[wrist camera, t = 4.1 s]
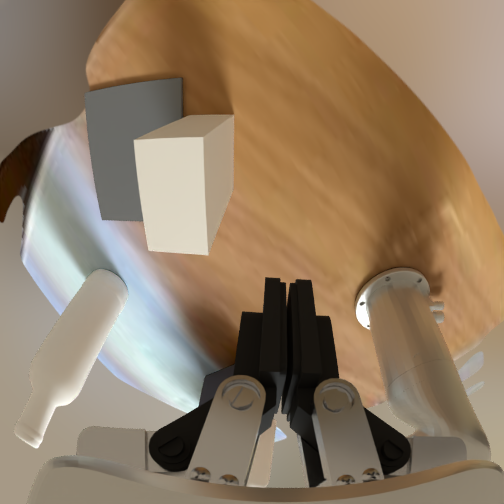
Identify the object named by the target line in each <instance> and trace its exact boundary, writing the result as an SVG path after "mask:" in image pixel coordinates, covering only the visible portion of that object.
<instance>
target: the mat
mask: <svg viewBox="0 0 504 504" xmlns="http://www.w3.org/2000/svg"><path fill="white" fill-rule="evenodd" d="M85 108H86V120H87V130H88V140H89V148H90V155H91V163H92V169H93V175H94V181H95V187H96V193H97V198H98V203H99V208H100V213H101V218H102V220H118V221H143V214H142V208H141V201H140V193H139V186H138V178H137V169H136V160H135V150H134V140H135V139H137V138H139V137H141V136H143V135H145V134H147V133H150V132H152V131H154V130H156V129H158V128H161V127H163V126H165V125H167V124H170V123H172V122H174V121H177V120H179V119H182V118H183V86H182V78H172V79H162V80H154V81H146V82H139V83H132V84H126V85H120V86H115V87H109V88H104V89H100V90H95V91H90V92H86V93H85Z"/></svg>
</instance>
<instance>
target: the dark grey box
mask: <svg viewBox="0 0 504 504" xmlns="http://www.w3.org/2000/svg"><path fill="white" fill-rule="evenodd" d="M234 366H235V364H234V365H232V366H229V367H227V368H225V369H222V370H220V371H217V372H215V373H212V374H210V375H207V376H206V377H205V379H204V384H203V388H202V393H201V397H200V402H199V406H201V405H202V404H204V403H206V402H207V401H209V400H211V399H212V398H214V396H215V394H216V391H217V389H218V387H219V385H220V384H221V383H222V382H223V381H224V380H225V379H227V378H229V377H231V376H233V373H234ZM199 406H198V407H199Z"/></svg>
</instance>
